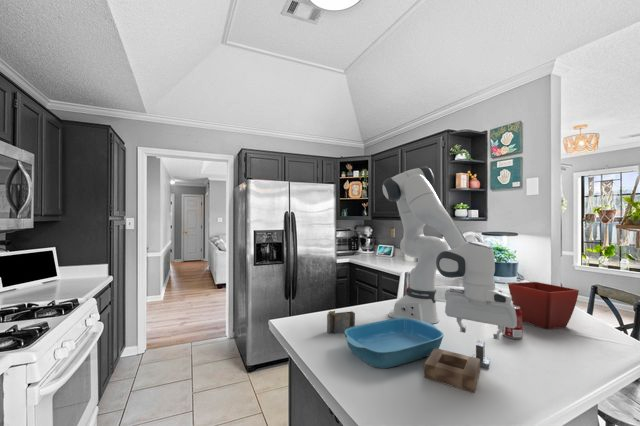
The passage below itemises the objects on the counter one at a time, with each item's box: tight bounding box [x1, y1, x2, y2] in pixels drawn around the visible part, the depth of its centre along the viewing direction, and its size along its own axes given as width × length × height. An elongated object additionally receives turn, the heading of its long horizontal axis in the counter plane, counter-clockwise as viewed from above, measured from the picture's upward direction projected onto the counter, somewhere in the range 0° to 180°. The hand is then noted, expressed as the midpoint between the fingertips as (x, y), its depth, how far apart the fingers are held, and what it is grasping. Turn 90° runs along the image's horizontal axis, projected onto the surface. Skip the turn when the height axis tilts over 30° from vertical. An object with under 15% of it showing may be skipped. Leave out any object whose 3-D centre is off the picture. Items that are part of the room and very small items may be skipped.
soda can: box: [501, 305, 523, 340], centre depth 116 cm, size 7×7×12 cm
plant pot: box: [508, 281, 580, 330], centre depth 132 cm, size 19×19×17 cm
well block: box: [423, 348, 481, 394], centre depth 86 cm, size 13×13×4 cm
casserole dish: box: [344, 318, 444, 369], centre depth 101 cm, size 37×22×7 cm, turn 119°
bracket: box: [471, 339, 491, 370], centre depth 93 cm, size 5×5×6 cm
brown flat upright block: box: [326, 310, 356, 335], centre depth 119 cm, size 11×3×10 cm, turn 110°
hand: (479, 335), depth 93 cm, fingers open, 8 cm apart
